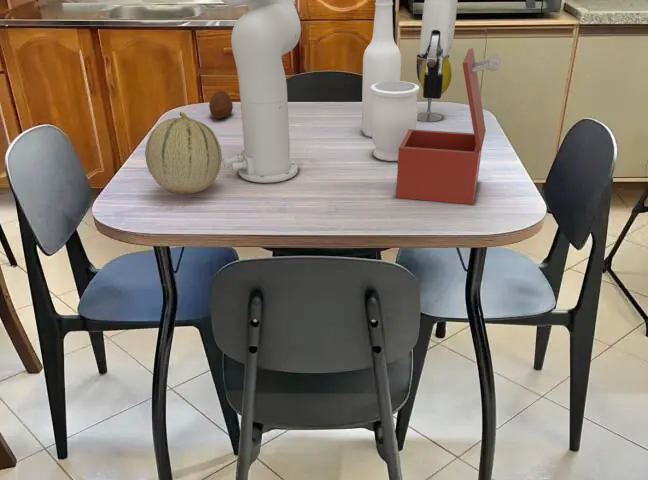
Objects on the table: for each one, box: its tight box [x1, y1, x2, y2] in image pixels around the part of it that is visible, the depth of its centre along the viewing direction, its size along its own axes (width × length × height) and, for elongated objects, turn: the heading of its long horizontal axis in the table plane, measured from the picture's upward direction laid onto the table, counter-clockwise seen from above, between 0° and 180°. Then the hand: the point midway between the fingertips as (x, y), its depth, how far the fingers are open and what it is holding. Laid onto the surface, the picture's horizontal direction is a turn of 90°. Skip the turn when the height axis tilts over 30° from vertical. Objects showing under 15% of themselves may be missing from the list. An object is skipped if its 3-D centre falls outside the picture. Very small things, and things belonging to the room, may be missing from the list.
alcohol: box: [361, 0, 402, 138], centre depth 158 cm, size 9×9×30 cm
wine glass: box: [415, 52, 450, 122], centre depth 172 cm, size 8×8×15 cm
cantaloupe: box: [144, 111, 223, 195], centre depth 133 cm, size 15×15×15 cm
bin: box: [395, 128, 483, 205], centre depth 133 cm, size 15×12×10 cm
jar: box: [370, 80, 420, 162], centre depth 148 cm, size 11×10×15 cm
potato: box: [208, 90, 234, 119], centre depth 178 cm, size 6×12×6 cm, turn 179°
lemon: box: [420, 53, 452, 95], centre depth 122 cm, size 6×6×8 cm
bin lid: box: [462, 47, 501, 152], centre depth 123 cm, size 16×12×6 cm
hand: (434, 92), depth 124 cm, fingers closed on lemon, 5 cm apart
